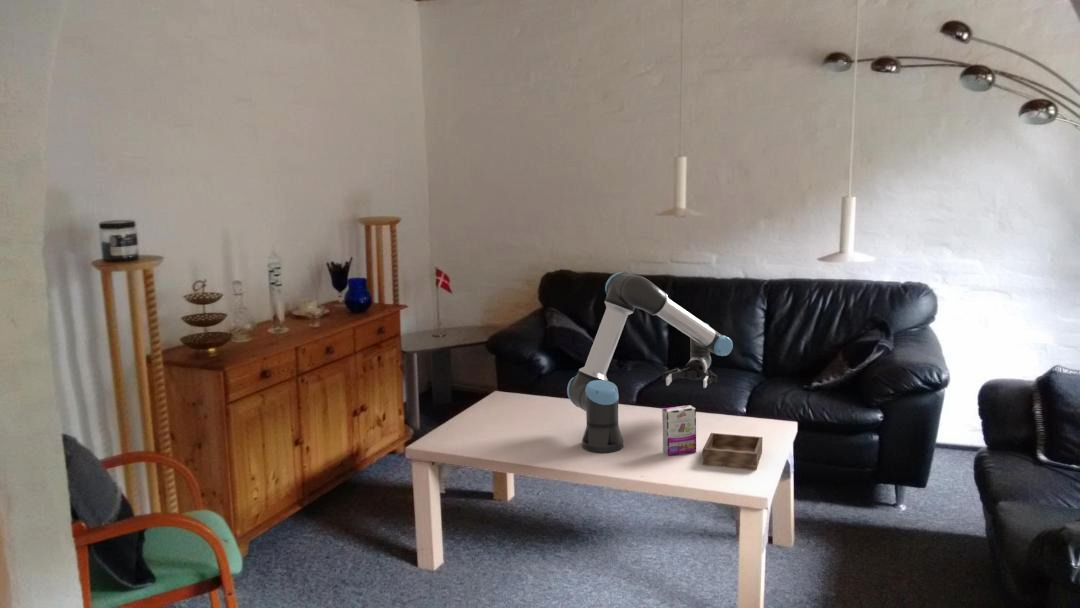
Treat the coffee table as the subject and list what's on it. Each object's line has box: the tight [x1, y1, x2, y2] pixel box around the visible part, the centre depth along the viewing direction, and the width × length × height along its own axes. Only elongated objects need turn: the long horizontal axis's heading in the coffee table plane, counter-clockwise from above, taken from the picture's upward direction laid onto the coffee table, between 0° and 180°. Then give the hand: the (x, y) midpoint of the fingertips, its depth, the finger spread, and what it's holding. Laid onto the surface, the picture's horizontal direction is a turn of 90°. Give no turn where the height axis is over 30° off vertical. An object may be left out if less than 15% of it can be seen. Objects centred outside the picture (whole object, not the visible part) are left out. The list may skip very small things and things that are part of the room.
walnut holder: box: [702, 432, 763, 471], centre depth 300 cm, size 18×18×6 cm
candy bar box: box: [661, 404, 697, 457], centre depth 306 cm, size 11×5×16 cm, turn 105°
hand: (685, 383), depth 313 cm, fingers open, 13 cm apart
